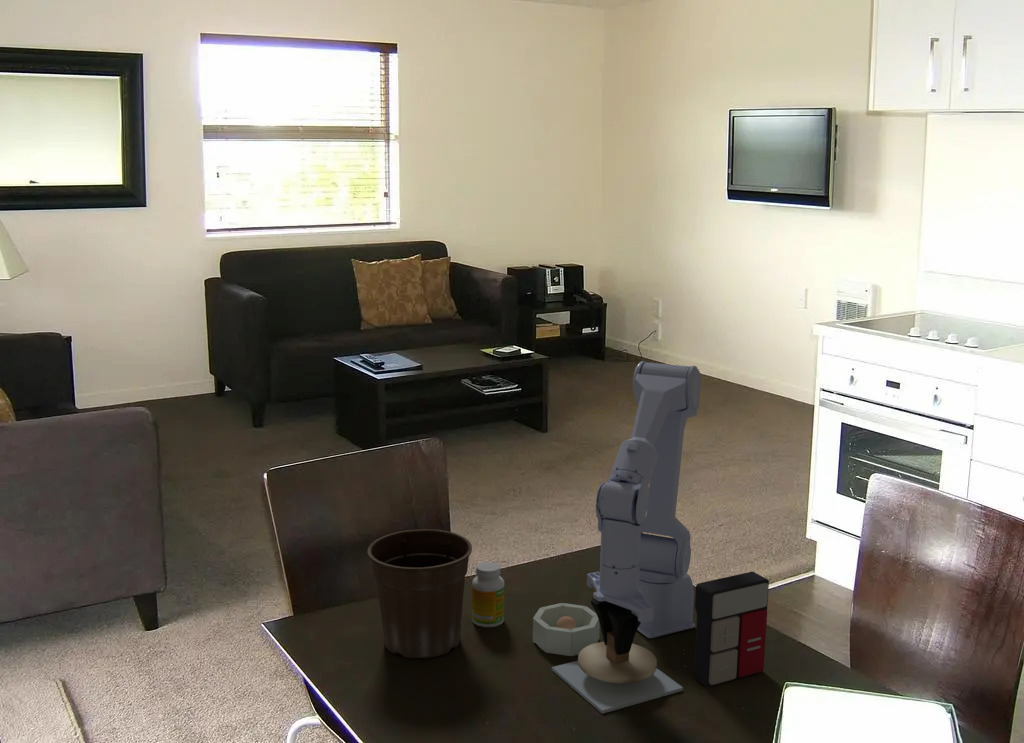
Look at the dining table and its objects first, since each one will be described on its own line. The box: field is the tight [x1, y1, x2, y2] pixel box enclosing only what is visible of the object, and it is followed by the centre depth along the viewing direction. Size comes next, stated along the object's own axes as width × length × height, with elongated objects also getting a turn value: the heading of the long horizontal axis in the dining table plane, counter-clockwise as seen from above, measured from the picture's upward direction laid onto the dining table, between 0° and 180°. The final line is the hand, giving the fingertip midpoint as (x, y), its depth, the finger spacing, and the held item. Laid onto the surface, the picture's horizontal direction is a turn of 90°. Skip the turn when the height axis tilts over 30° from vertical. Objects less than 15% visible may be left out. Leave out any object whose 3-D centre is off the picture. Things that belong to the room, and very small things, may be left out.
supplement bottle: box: [471, 561, 505, 628], centre depth 173 cm, size 5×5×10 cm
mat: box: [551, 660, 684, 715], centre depth 155 cm, size 14×14×1 cm
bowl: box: [532, 602, 601, 657], centre depth 167 cm, size 10×10×4 cm
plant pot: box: [367, 528, 473, 659], centre depth 164 cm, size 16×16×16 cm
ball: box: [556, 616, 576, 629], centre depth 167 cm, size 3×3×3 cm
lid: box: [577, 631, 658, 683], centre depth 154 cm, size 12×12×5 cm
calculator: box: [693, 571, 770, 688], centre depth 155 cm, size 11×4×15 cm, turn 117°
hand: (617, 648), depth 154 cm, fingers closed on lid, 2 cm apart
